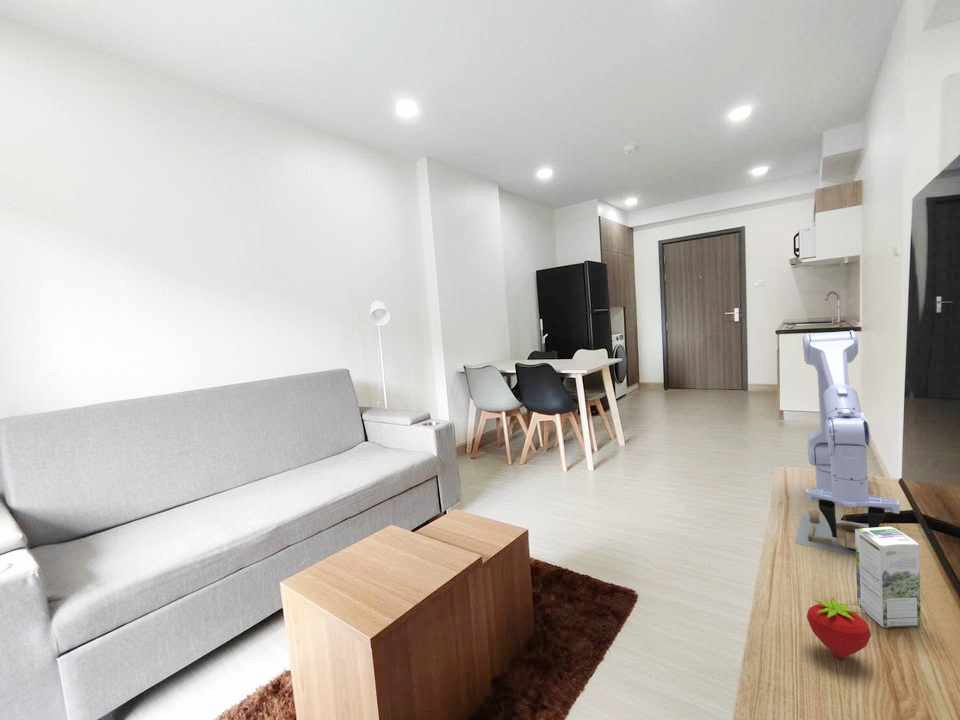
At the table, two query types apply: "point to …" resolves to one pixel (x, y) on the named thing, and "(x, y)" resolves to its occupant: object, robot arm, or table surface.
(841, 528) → the ring
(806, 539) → the board
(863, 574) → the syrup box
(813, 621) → the strawberry
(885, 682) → the table surface
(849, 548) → the end peg
